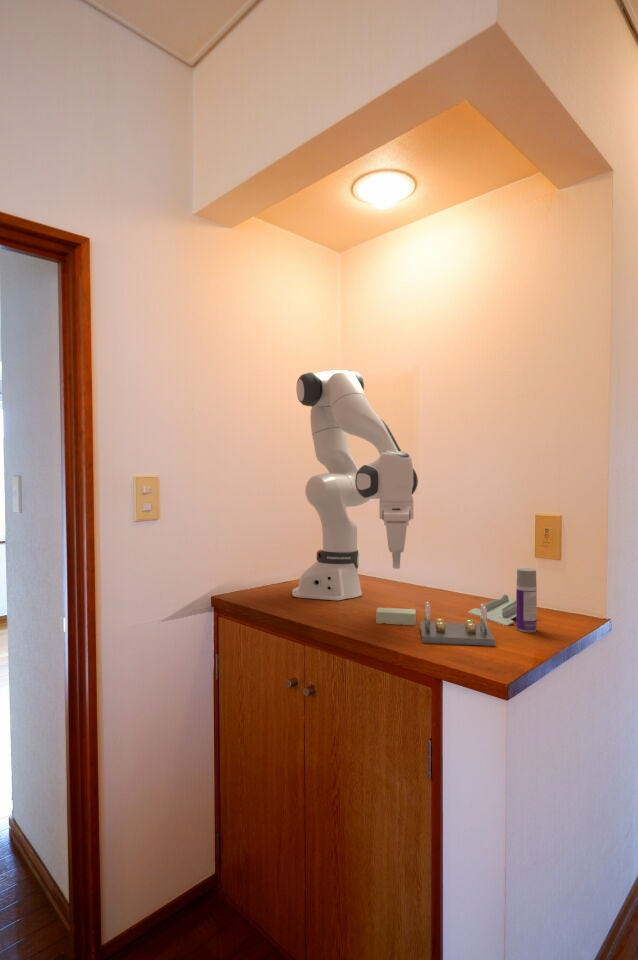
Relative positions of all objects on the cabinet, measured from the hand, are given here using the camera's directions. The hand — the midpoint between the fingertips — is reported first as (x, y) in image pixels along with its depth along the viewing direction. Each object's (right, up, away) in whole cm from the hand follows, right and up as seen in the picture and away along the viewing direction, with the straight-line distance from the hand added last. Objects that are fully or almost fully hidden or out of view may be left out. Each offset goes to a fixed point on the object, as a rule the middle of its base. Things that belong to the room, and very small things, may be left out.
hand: (396, 565), depth 141 cm
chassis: (+12, -15, -13) cm, 23 cm away
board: (0, -15, 0) cm, 15 cm away
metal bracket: (+30, -16, +5) cm, 34 cm away
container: (+31, -15, -7) cm, 35 cm away
